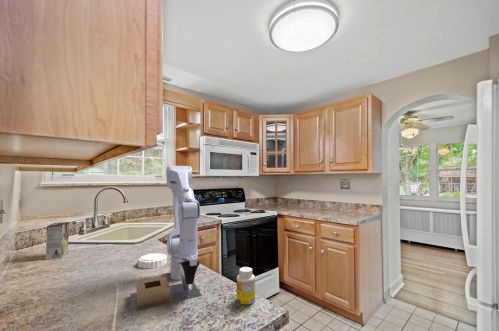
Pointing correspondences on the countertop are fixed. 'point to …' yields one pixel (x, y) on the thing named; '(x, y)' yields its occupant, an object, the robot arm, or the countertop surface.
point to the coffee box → (57, 240)
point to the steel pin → (185, 287)
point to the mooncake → (152, 260)
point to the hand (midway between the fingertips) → (188, 281)
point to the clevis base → (173, 296)
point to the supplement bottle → (245, 286)
